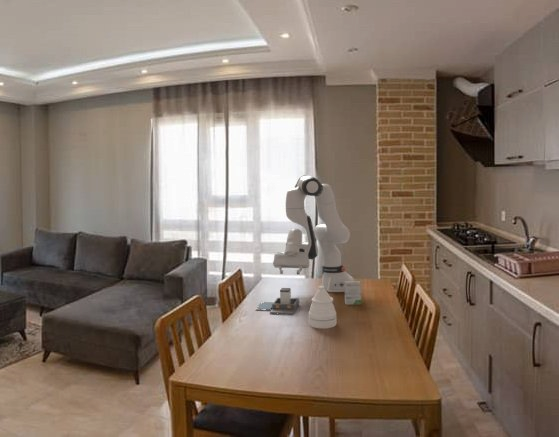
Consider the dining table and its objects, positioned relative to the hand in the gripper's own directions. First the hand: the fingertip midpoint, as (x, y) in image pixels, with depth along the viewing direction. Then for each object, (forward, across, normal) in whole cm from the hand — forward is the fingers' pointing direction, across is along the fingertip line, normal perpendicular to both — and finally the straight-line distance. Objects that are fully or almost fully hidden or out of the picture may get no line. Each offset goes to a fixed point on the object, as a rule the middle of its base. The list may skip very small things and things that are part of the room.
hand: (289, 273), depth 232 cm
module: (+19, 0, +2) cm, 20 cm away
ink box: (+11, +34, +11) cm, 37 cm away
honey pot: (+34, +22, -12) cm, 43 cm away
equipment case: (+21, 0, +1) cm, 21 cm away
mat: (+19, -11, +2) cm, 22 cm away
